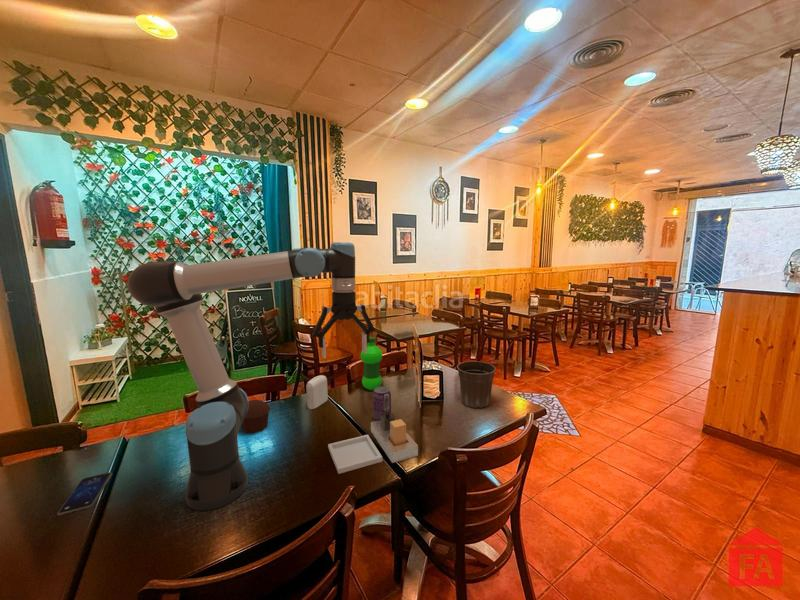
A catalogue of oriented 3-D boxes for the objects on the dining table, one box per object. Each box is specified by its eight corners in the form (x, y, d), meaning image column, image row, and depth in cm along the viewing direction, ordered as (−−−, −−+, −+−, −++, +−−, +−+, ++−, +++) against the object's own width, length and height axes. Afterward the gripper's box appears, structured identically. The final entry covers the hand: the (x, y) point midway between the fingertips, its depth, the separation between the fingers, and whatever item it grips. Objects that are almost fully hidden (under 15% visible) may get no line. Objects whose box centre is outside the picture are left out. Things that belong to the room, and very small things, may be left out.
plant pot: (449, 403, 143) (450, 368, 140) (466, 391, 156) (467, 358, 153) (485, 415, 133) (486, 376, 131) (499, 400, 146) (501, 365, 143)
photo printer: (313, 410, 138) (312, 382, 136) (305, 408, 140) (304, 380, 138) (329, 400, 147) (328, 373, 145) (321, 398, 149) (320, 372, 147)
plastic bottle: (374, 382, 167) (373, 334, 163) (386, 388, 159) (386, 338, 155) (357, 387, 160) (356, 337, 157) (369, 394, 152) (368, 342, 149)
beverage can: (392, 414, 134) (391, 386, 132) (389, 423, 127) (389, 393, 125) (374, 413, 135) (374, 385, 133) (371, 422, 128) (371, 393, 126)
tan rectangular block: (395, 456, 107) (394, 427, 105) (390, 449, 110) (390, 421, 109) (406, 453, 108) (406, 424, 107) (401, 446, 112) (401, 419, 111)
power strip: (392, 464, 103) (392, 433, 101) (370, 432, 121) (370, 405, 119) (417, 456, 106) (418, 426, 105) (393, 427, 124) (393, 401, 123)
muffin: (231, 431, 122) (229, 406, 120) (253, 417, 132) (251, 394, 131) (257, 437, 118) (255, 411, 116) (278, 422, 128) (276, 398, 127)
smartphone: (54, 515, 83) (81, 478, 96) (55, 518, 83) (82, 481, 97) (92, 505, 86) (113, 470, 99) (93, 508, 86) (114, 473, 100)
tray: (338, 475, 98) (338, 469, 98) (328, 449, 110) (328, 444, 110) (382, 462, 103) (382, 456, 103) (368, 439, 116) (367, 434, 116)
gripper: (305, 294, 98) (307, 362, 101) (384, 290, 108) (383, 353, 111) (302, 291, 105) (304, 355, 108) (376, 288, 115) (376, 347, 118)
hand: (344, 354), depth 109 cm, fingers open, 13 cm apart
